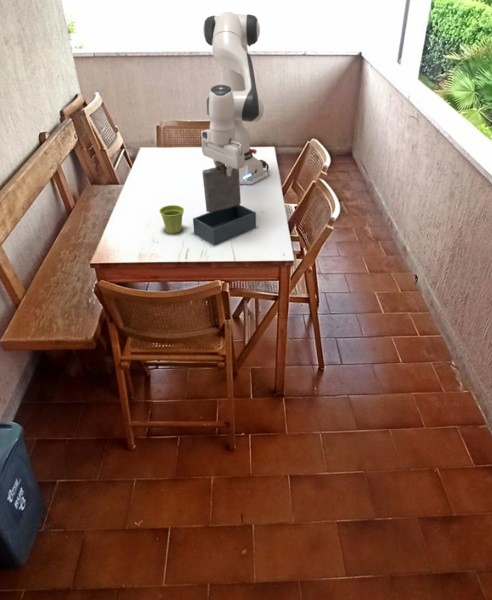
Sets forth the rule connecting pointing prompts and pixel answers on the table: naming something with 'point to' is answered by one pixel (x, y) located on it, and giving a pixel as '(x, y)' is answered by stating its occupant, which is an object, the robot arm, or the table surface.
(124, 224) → the table surface
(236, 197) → the flask
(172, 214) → the plant pot
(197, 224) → the tote
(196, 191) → the table surface
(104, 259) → the table surface
